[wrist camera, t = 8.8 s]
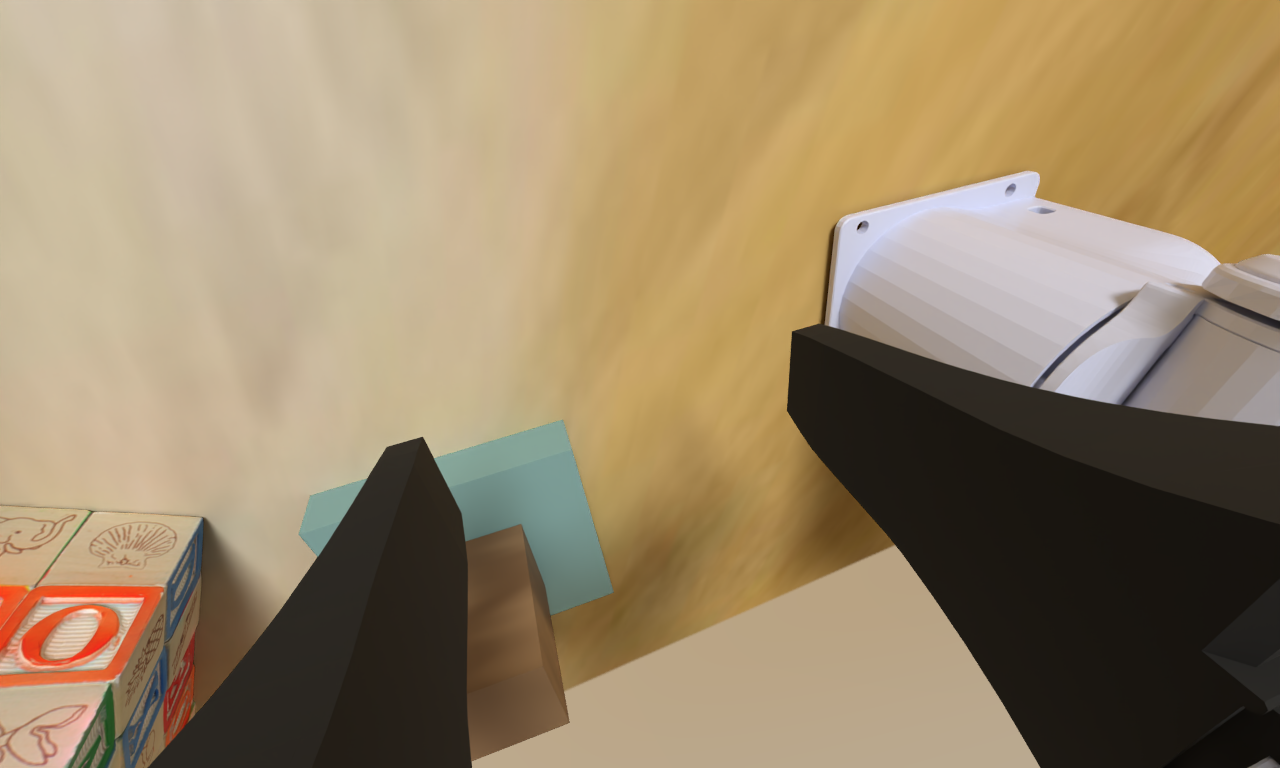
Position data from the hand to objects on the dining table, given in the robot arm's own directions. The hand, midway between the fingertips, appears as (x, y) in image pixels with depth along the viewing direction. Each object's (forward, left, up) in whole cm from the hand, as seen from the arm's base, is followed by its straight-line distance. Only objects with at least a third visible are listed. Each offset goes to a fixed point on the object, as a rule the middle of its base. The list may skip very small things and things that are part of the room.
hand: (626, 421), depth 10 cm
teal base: (+6, +12, -10) cm, 17 cm away
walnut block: (+6, +12, -8) cm, 16 cm away
